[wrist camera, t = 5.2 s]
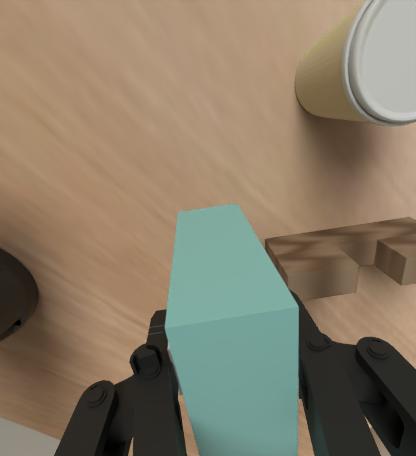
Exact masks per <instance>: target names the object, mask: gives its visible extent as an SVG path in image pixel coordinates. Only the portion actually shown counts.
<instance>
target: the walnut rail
mask: <svg viewBox="0 0 416 456" xmlns="http://www.w3.org/2000/svg"><path fill="white" fill-rule="evenodd" d="M265 248H266V253H267V254H268V256H269V258H270V259H271V261H272V263H273V264H274V266H275V268H276V269H277V271H278V273H279V274H280V276H281V278H282V279H283V281H284V283H285V284H286V286H287V288H288V289H290V290H291V291H293V292H294V293H295V294H297V295H298V297H299V299H300V300H301V301H303V300H310V299H316V298H323V297H329V296H336V295H343V294H349V293H356V288H357V280H358V271H359V266H365V265H372V264H374V265H375V266H377V267H378V268H379V269H381V270H382V271H383V272H384V273H386V274H387V275H388V276H389V277H391V278H392V279H393V280H395V281H396V282H397V283H398V284H400V285H401V286H402V285H409V284H415V283H416V220H415V219H412V218H410V217H407V218H400V219H394V220H387V221H381V222H374V223H367V224H361V225H354V226H348V227H341V228H335V229H328V230H321V231H315V232H308V233H302V234H295V235H289V236H282V237H275V238H269V239H265Z"/></svg>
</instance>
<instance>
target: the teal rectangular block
mask: <svg viewBox="0 0 416 456" xmlns="http://www.w3.org/2000/svg"><path fill="white" fill-rule="evenodd" d="M165 331H166V335H167V338H168V342H169V346H170V349H171V353H172V357H173V360H174V364H175V367H176V371H177V375H178V378H179V382H180V386H181V389H182V393H183V397H184V400H185V404H186V407H187V411H188V415H189V418H190V422H191V426H192V429H193V433H194V436H195V440H196V444H197V447H198V451H199V455H200V456H298V344H299V306H298V305H297V303H296V301H295V300H294V298H293V296H292V294H291V293H290V291H289V289H288V288H287V286H286V284H285V283H284V281H283V279H282V278H281V276H280V274H279V273H278V271H277V269H276V268H275V266H274V264H273V263H272V261H271V259H270V258H269V256H268V254H267V253H266V251H265V249H264V248H263V246H262V244H261V243H260V241H259V239H258V238H257V236H256V234H255V232H254V231H253V229H252V227H251V226H250V224H249V222H248V221H247V219H246V217H245V216H244V214H243V212H242V211H241V209H240V207H239V206H238V204H237V203H235V204H228V205H222V206H215V207H209V208H203V209H196V210H190V211H183V212H178V218H177V227H176V235H175V244H174V253H173V261H172V270H171V278H170V287H169V295H168V304H167V313H166V321H165Z"/></svg>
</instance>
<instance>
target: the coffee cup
mask: <svg viewBox="0 0 416 456" xmlns="http://www.w3.org/2000/svg"><path fill="white" fill-rule="evenodd" d="M295 90H296V94H297V97H298V100H299V102H300V103H301V105H302V106H303V108H304V109H305V110H307V111H308V112H309V113H311V114H313V115H315V116H319V117H325V118H333V119H341V120H350V121H358V122H369V123H374V124H378V125H383V126H401V125H406V124H410V123H413V122H416V0H364V1H363V2H362V3H360V4H359V5H358V6H357V7H356V8H354V9H353V10H352V11H351V12H350V13H348V14H347V15H346V16H345V17H344V18H343V19H341V20H340V21H339V22H338V23H337V24H336V25H334V26H333V27H332V28H331V29H330V30H329V31H327V32H326V33H325V34H324V35H323V36H322V37H320V38H319V39H318V40H317V41H316V42H315V43H314V44H313V45H312V46H311V47H310V48H309V49H308V50H307V51H306V53H305V54H304V55H303V57H302V59H301V61H300V63H299V65H298V68H297V72H296V77H295Z"/></svg>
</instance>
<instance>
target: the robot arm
mask: <svg viewBox="0 0 416 456" xmlns="http://www.w3.org/2000/svg"><path fill="white" fill-rule="evenodd" d="M289 291H290V293H291V294H292V296H293V298H294V300H295V301H296V303H297V305H298V306H299V344H298V377H299V399H302V402H303V407H304V411H305V415H306V420H307V424H308V429H309V433H310V437H311V442H312V446H313V451H314V455H315V456H381V455H380V452H379V450H378V447H377V445H376V443H375V440H374V438H373V435H372V433H371V431H370V428H369V426H368V424H367V421H366V419H365V417H366V418H367V420H368V421H369V423H370V424H371V426H372V427H373V429H374V430H375V432H376V433H377V435H378V436H379V438H380V439H381V441H382V442H383V444H384V445H385V447H386V449H387V450H388V451H389V453H390V455H391V456H416V369H415V368H414V367H413V366H412V365H411V364H410V363H409V362H408V361H407V360H406V359H405V358H404V357H403V356H402V355H401V354H400V353H399V352H398V351H397V350H396V349H395V348H394V347H393V346H391V345H390V344H389V343H388V342H386V341H384V340H382V339H379V338H375V337H364V338H362V339H360V340H359V341H358V343H357V345H351V344H342V343H337V342H334V341H332V340H331V339H330V338H329V337H328V336H326V335H325V334H323V333H321V332H320V331H319V329H318V327H317V326H316V324H315V323H314V321H313V319H312V318H311V316H310V315H309V313H308V311H307V310H306V309H305V307H304V305H303V303H302V302H301V300H300V299H299V297H298V295H297V294H295V293H294V292H293V291H291V290H290V289H289ZM37 301H38V293H37V288H36V285H35V282H34V280H33V278H32V276H31V275H30V273H29V272H28V271H27V269H26V268H25V267H24V266H23V265H22V264H21V263H20V262H19V261H18V260H17V259H15V258H14V257H13V256H11V255H10V254H8V253H7V252H5V251H4V250H2V249H0V342H1V341H2V340H4V339H5V338H7V337H9V336H10V335H12V334H13V333H15V332H16V331H17V330H19V329H20V328H21V327H22V326H23V325H24V324H25V322H26V321H27V320H28V319H29V318H30V316H31V315H32V314H33V312H34V311H35V309H36V306H37ZM166 313H167V309H166V310H159V311H156V312H155V314H154V315H153V317H152V318H151V322H150V328H149V332H148V337H147V343H145V344H143V345H141V346H139V347H138V348H137V349H136V350H135V351H134V352H133V354H132V355H131V357H130V361H129V362H130V365H131V367H132V370H133V373H134V374H133V375H132V376H131V377H129V378H128V379H126V380H124V381H122V382H119V383H117V384H115V385H113V383H111V382H110V381H106V380H103V381H99V382H96V383H94V384H93V385H91V386H90V387H89V388H88V389H87V390H86V391H85V392H84V393H83V394H82V396H81V398H80V399H79V401H78V404H77V406H76V408H75V410H74V413H73V415H72V417H71V419H70V421H69V424H68V426H67V428H66V430H65V432H64V435H63V437H62V439H61V441H60V444H59V446H58V448H57V450H56V453H55V455H54V456H128V453H129V449H130V445H131V440H132V438H133V456H187V453H186V446H185V439H184V432H183V425H182V418H181V411H180V405H179V402H178V389H179V392H180V395H183V393H182V389H181V386H180V382H179V378H178V375H177V371H176V367H175V364H174V360H173V357H172V353H171V349H170V346H169V342H168V338H167V335H166V331H165V321H166ZM364 415H365V416H364Z"/></svg>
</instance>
